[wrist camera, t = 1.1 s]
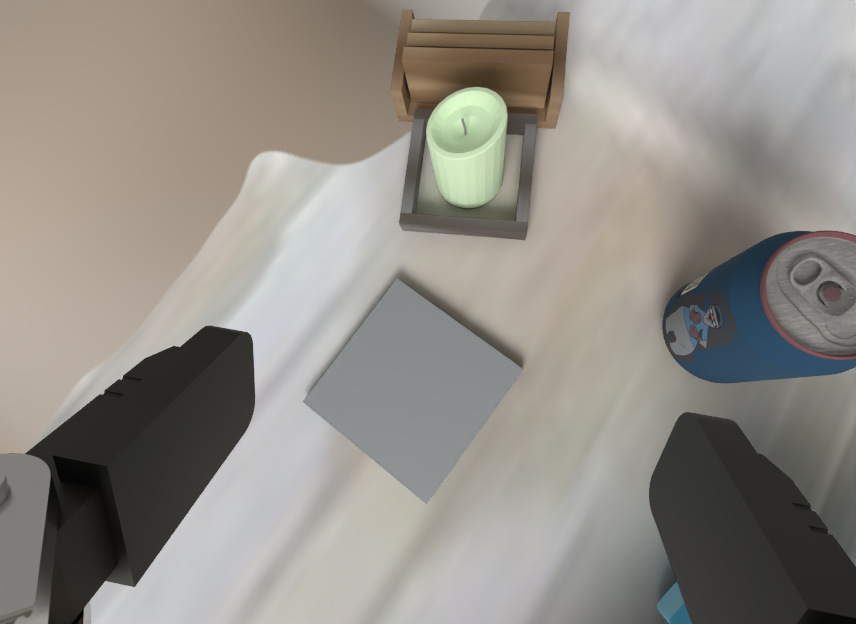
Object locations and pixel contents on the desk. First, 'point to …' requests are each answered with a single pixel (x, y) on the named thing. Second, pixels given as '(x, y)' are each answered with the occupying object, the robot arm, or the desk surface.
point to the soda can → (770, 311)
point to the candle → (468, 145)
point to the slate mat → (412, 389)
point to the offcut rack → (477, 67)
